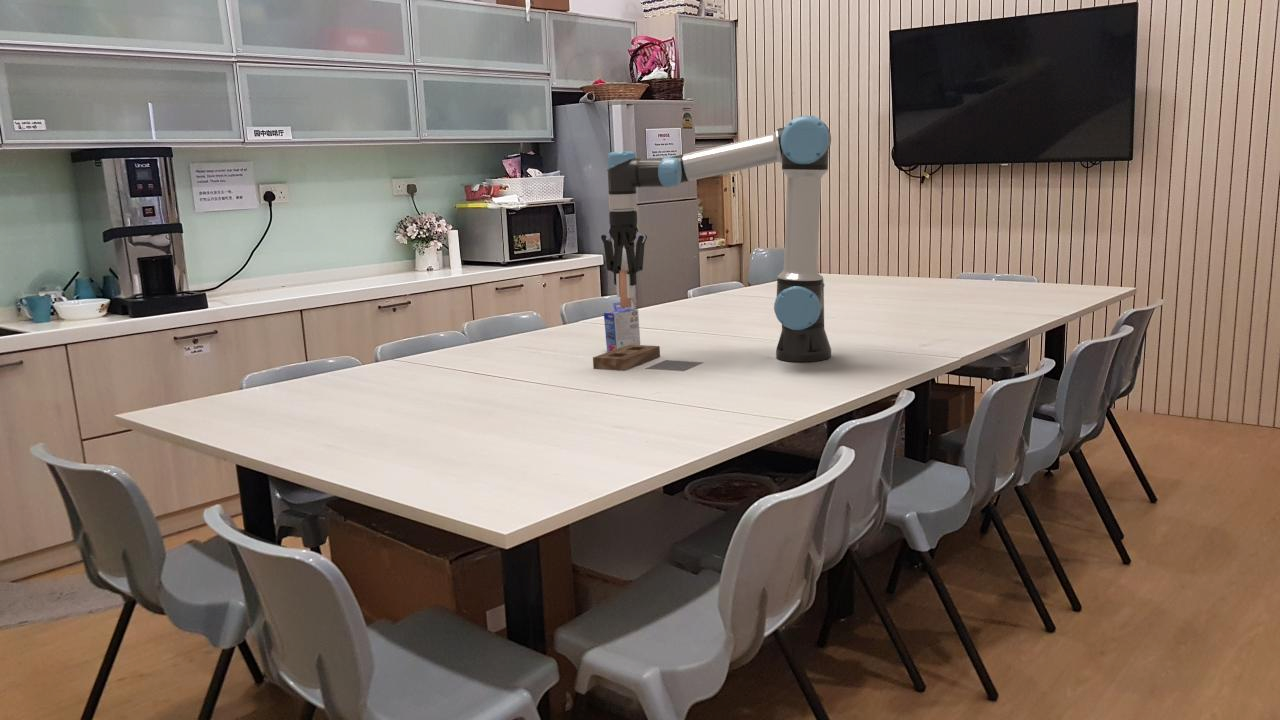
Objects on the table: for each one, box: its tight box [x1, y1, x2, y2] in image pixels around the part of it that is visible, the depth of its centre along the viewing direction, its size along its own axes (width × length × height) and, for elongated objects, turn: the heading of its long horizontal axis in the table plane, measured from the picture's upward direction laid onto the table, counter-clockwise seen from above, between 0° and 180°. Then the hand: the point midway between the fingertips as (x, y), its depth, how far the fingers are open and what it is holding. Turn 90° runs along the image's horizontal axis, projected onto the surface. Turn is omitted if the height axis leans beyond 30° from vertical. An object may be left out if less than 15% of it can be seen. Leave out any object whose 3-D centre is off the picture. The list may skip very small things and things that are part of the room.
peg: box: [619, 269, 632, 309], centre depth 271 cm, size 3×3×10 cm
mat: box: [644, 359, 704, 372], centre depth 272 cm, size 12×12×1 cm
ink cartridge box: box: [603, 301, 641, 353], centre depth 300 cm, size 10×6×14 cm, turn 132°
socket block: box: [592, 344, 661, 372], centre depth 279 cm, size 10×20×4 cm, turn 150°
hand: (625, 297), depth 271 cm, fingers closed on peg, 2 cm apart
